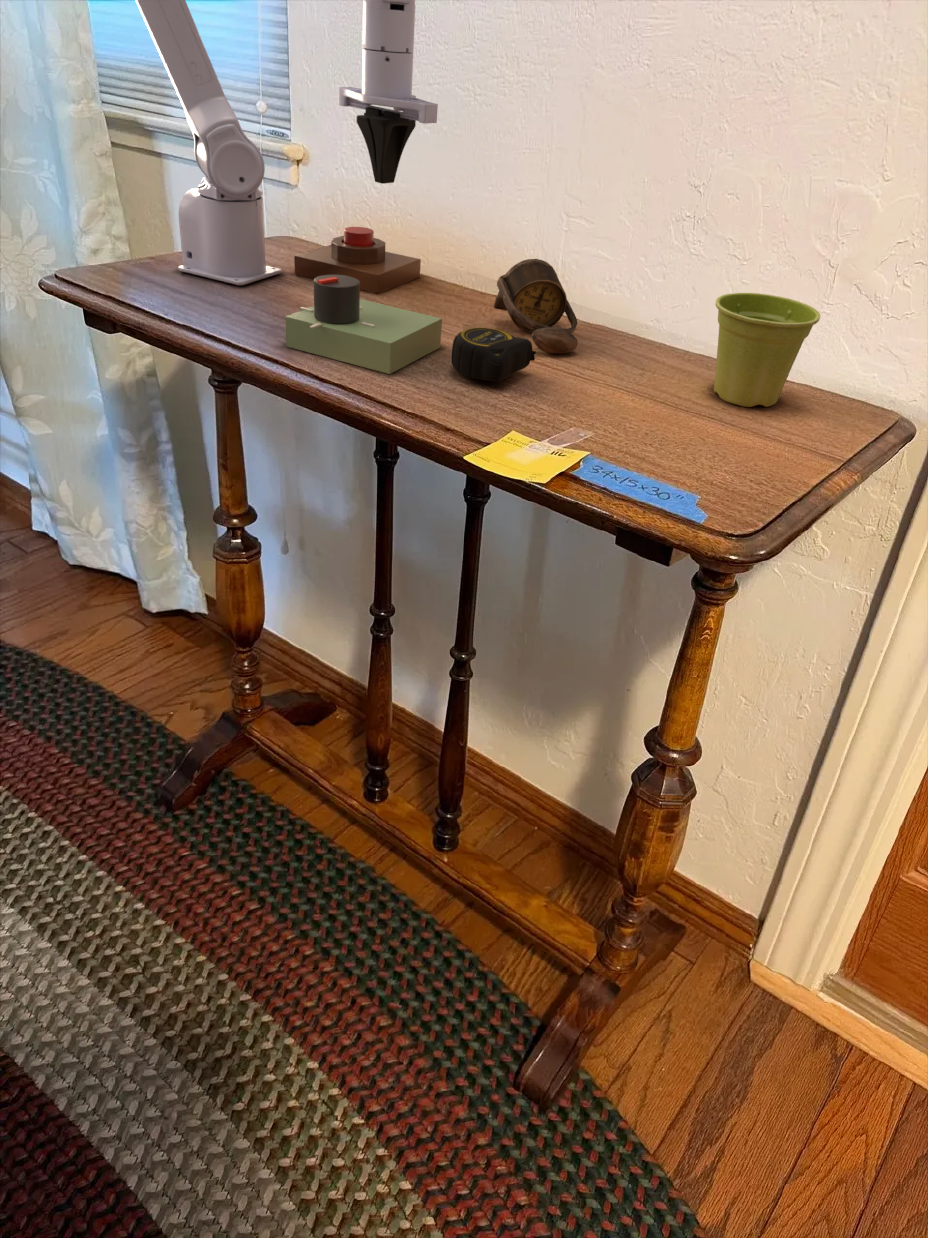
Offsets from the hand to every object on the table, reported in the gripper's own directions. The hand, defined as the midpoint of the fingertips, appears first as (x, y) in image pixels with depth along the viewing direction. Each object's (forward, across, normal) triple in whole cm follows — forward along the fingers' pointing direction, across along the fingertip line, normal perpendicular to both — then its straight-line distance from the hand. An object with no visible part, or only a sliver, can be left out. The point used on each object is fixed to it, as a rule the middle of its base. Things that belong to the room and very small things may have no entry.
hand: (384, 181), depth 112 cm
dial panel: (+10, -20, +22) cm, 31 cm away
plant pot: (+11, -52, +1) cm, 53 cm away
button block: (+10, 0, +4) cm, 11 cm away
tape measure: (+11, -34, +17) cm, 39 cm away
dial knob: (+7, -19, +24) cm, 31 cm away
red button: (+7, 0, +4) cm, 8 cm away
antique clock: (+11, -28, +4) cm, 30 cm away
